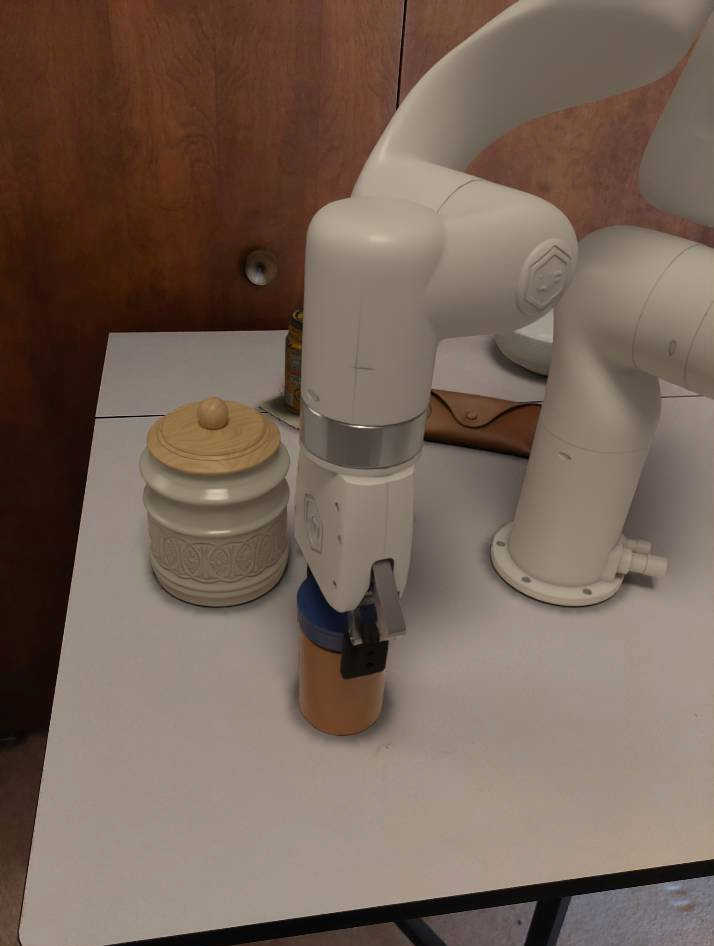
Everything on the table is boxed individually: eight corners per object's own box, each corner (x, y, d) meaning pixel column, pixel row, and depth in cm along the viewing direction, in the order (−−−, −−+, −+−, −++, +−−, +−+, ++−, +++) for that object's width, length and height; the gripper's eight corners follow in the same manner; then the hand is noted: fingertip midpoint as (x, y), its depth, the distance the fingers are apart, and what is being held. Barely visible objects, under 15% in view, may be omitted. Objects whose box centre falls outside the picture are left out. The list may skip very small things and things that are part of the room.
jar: (160, 621, 70) (140, 449, 59) (144, 532, 80) (124, 371, 69) (303, 597, 73) (309, 429, 62) (270, 515, 83) (271, 357, 72)
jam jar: (379, 670, 66) (389, 576, 60) (384, 736, 61) (395, 640, 54) (299, 669, 66) (300, 574, 60) (298, 734, 61) (299, 638, 54)
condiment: (346, 407, 101) (352, 317, 94) (297, 430, 97) (299, 336, 89) (306, 386, 105) (309, 298, 98) (257, 407, 101) (256, 316, 93)
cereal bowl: (466, 344, 117) (474, 297, 112) (566, 333, 121) (577, 287, 117) (525, 399, 104) (536, 348, 100) (633, 384, 108) (649, 335, 104)
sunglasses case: (390, 436, 95) (400, 379, 94) (395, 436, 102) (404, 384, 101) (545, 459, 92) (556, 401, 91) (539, 459, 99) (549, 404, 98)
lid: (277, 604, 58) (277, 586, 57) (356, 570, 62) (357, 552, 60) (332, 666, 54) (333, 648, 53) (414, 626, 57) (417, 608, 56)
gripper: (263, 366, 53) (262, 569, 64) (354, 515, 40) (334, 738, 51) (368, 354, 55) (350, 554, 66) (486, 493, 42) (440, 713, 53)
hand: (343, 633), depth 59 cm, fingers closed on lid, 7 cm apart
